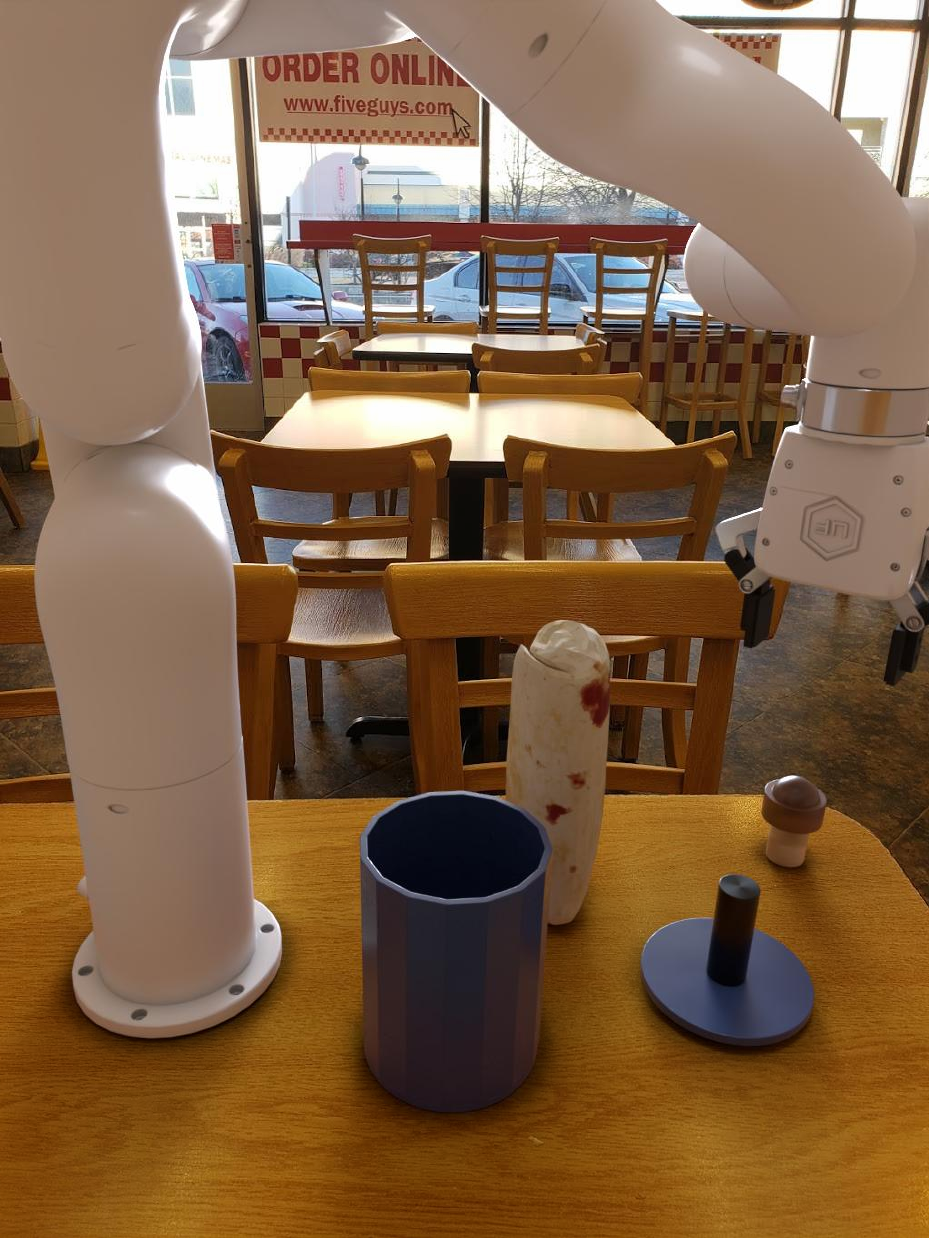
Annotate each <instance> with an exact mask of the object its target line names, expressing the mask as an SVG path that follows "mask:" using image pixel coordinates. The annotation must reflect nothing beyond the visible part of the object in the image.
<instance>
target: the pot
mask: <svg viewBox="0 0 929 1238" xmlns="http://www.w3.org/2000/svg"><path fill="white" fill-rule="evenodd" d="M552 851H553V850H552V846H551V843H550V840H549V837H548V834H547V832H546V829H545V827H544V826H543V825H542V824H541V823H540V822H539V821H538V820H537V819H535V818H534V817H533V816H532V815H531V814H530V813H529V812H528V811H527V810H526V809H524V808H521V807H519V806H517V805H514V804H512V803H510V802H508V801H506V799H503V798H501V797H498V796H495V795H489V794H483V793H477V792H472V791H465V790H453V791H452V790H451V791H433V792H431V791H430V792H425V793H422V794H418V795H415V796H411V797H408V798H404V799H399V800H398V801H396V802H394V803H392V804H390V805H389V806H387V807H385V808H384V809H382V810H381V811H379V812H377V813H375V814H374V815H373V816H372V818H371V819H370V820H369V821H368V823H367V824H366V827H365V828H364V830H363V831H362V832H361V834H360V835H359V870H360V871H359V872H360V873H359V878H360V923H361V926H360V927H361V928H360V929H361V930H360V931H361V975H362V978H361V980H362V981H361V983H362V1022H363V1023H362V1026H363V1029H362V1030H363V1053H364V1057H365V1060H366V1063H367V1065H368V1067H369V1070H370V1072H371V1073H372V1075H373V1076H374V1077H375V1079H376V1081H377V1082H378V1083H379V1084H380V1085H381V1086H382V1087H383V1088H384V1089H385V1090H386V1091H387V1092H389V1093H390V1094H391V1095H393V1097H395V1098H397V1099H398V1100H400V1101H402V1102H404V1103H406V1104H408V1105H410V1106H413V1107H415V1108H419V1109H423V1110H425V1111H426V1110H427V1111H431V1112H436V1113H448V1114H450V1113H451V1114H452V1113H454V1114H455V1113H466V1112H473V1111H477V1110H480V1109H485V1108H487V1107H489V1106H492V1105H494V1104H497V1103H498V1102H500V1101H502V1100H504V1099H506V1098H508V1097H509V1096H510V1095H512V1093H514V1092H515V1091H516V1090H517V1089H518V1088H519V1087H521V1086H522V1084H523V1083H524V1082H525V1081H526V1079H527V1078H528V1076H529V1075H530V1073H531V1072H532V1070H533V1067H534V1065H535V1062H536V1060H537V1055H538V1054H537V1053H538V1046H539V1042H540V1038H541V1037H540V1036H541V1023H542V1022H541V1021H542V1008H543V1007H542V1006H543V994H544V980H545V979H544V978H545V964H546V952H547V951H546V950H547V936H548V924H549V923H548V908H549V894H550V879H551V865H552Z"/></svg>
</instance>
